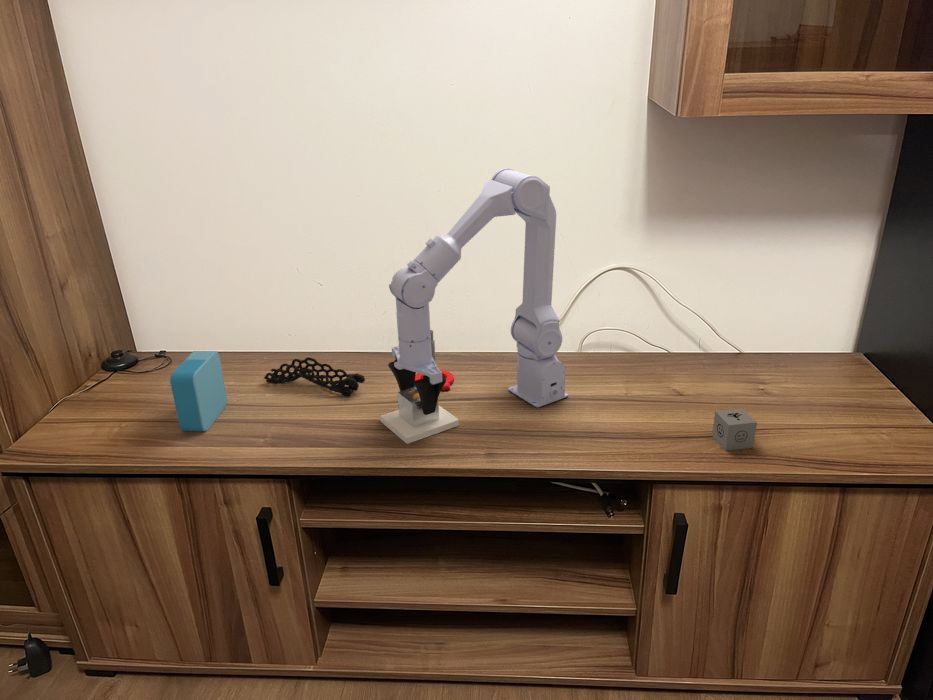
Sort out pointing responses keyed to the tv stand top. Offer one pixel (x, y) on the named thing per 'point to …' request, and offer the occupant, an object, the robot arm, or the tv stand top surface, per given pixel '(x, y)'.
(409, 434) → the plate
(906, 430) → the tv stand top surface
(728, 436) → the dice cube
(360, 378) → the decorative element
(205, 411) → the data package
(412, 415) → the hollow square tube
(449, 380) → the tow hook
